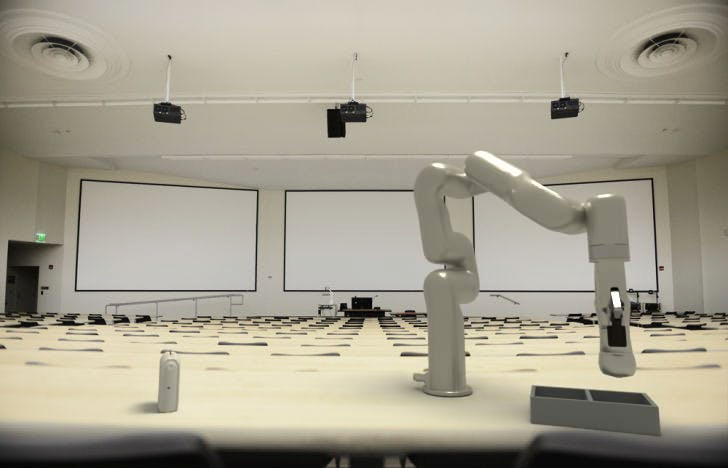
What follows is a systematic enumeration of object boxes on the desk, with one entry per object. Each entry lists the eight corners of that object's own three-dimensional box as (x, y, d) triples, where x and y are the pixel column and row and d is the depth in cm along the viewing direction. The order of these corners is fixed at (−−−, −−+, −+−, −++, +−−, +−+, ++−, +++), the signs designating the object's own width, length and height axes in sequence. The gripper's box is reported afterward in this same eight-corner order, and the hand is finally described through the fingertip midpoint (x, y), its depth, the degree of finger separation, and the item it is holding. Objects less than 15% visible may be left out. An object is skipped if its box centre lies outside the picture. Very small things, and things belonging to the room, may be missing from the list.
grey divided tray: (531, 423, 91) (530, 396, 91) (532, 408, 102) (531, 385, 102) (660, 435, 83) (658, 406, 83) (647, 418, 94) (645, 392, 94)
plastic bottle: (642, 380, 88) (634, 275, 90) (604, 379, 89) (597, 276, 91) (630, 374, 94) (623, 276, 96) (594, 373, 95) (588, 276, 98)
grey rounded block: (179, 411, 100) (181, 353, 102) (157, 414, 99) (160, 355, 100) (176, 401, 110) (179, 348, 111) (157, 403, 108) (159, 349, 109)
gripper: (585, 258, 104) (590, 340, 101) (592, 252, 88) (598, 349, 86) (623, 256, 101) (629, 341, 99) (637, 251, 85) (645, 351, 83)
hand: (615, 344), depth 92 cm, fingers closed on plastic bottle, 5 cm apart
